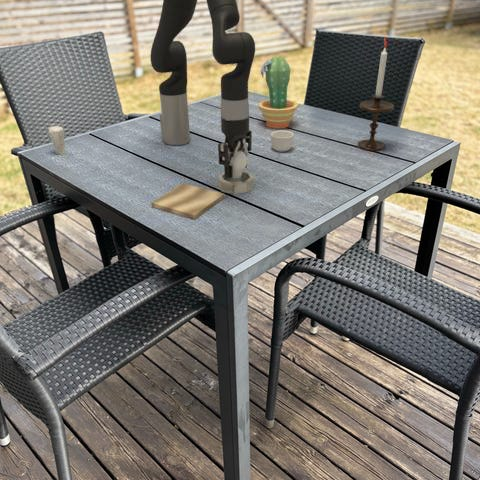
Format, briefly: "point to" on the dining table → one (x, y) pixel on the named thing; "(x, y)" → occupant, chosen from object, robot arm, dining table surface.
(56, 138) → the milkshake
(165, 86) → the robot arm
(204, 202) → the oak board
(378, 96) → the candlestick
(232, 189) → the collar
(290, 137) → the teacup
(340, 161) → the dining table surface
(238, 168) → the lightbulb
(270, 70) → the potted cactus
